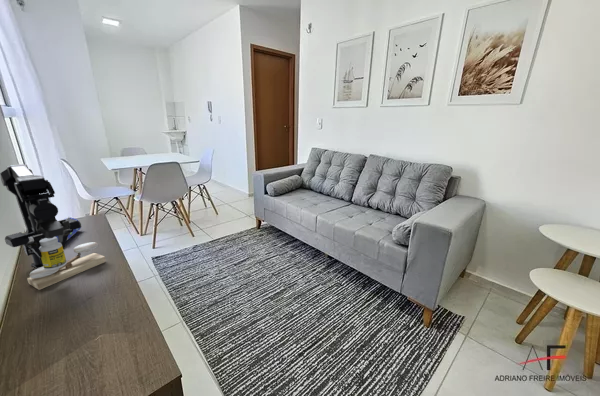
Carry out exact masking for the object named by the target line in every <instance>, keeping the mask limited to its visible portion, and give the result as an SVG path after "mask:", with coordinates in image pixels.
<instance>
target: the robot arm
mask: <svg viewBox="0 0 600 396" xmlns="http://www.w3.org/2000/svg"><path fill="white" fill-rule="evenodd" d="M33 172H34V171H33V170H32V169H30V168H29V167H28V165H27V164H23V163H21V164H20V163H19V164H10V165H7V166H6V169H5V170H3V171H2V172H0V180H1V183H2V186H3V187H6V190H7V191H8V192H10V193H11V194H12V195H14V196H15V199H16V201H17V205H18V208H19V211H20V214H21V217H22V220H23V223H24V225H25V228H26V231H25V233H23V232H22V231H21V232H16V233H12V234H9V235H6V236H5V238H4V241H5V244H6V245H8V246H9V247H12V248H18V247H20V246H23V247H22V248H23V250H24V253H25V254H26V256H27V257H28V256H31V257H32V261H33V262H32V263H31V264H30V265H31V266H32V267H34V268H35V269H38V268H40V267H43V263H42V259H41V257H42V256H41V252H40V250H39V248H40V246H41V245H40V242H39V241H40V240H42V239H44V238H48V239H50V238H53V237H56V236H58V239H59V242H60V243H61V244H62V246H63V250H65V249H66V245H67V241H68V240H67V237H68V235H69V234H70V233H71V232H73V230H75V229H78V228H80V229H82V223H81V222H80V220H78V219H77V220H78V221H77V220H74V219H75V218H74V219H68V220H67V219H66V218H64V219H61V220H57V218H56V217H57V215H58V213H59V208H58V206H56V205H55V204H54V203H53V202H51V201H50V198H54V197H55V194H56V192H55V190H54V188H53V186H52V183H51V182H50V181H49V180H48V179H45V178H44V176H41V175H35V174H34V173H33ZM66 240H67V241H66Z"/></svg>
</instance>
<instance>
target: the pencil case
mask: <svg viewBox="0 0 600 396" xmlns="http://www.w3.org/2000/svg"><path fill="white" fill-rule="evenodd" d="M65 219H67V220H68V219H74V220H77V221H79V220H78V219H76V218H74V217H70V216H68V217H65ZM80 230H81V228H78V229H75V230H73V232H71V233H70V234H69V235H68V237H67V240H66V242H67V241H68V240H69V239H71V237H73V236H74V235H75V234H77V232H79V231H80ZM56 237H57V238H58V236H56ZM58 242H59V239H58Z"/></svg>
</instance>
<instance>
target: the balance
mask: <svg viewBox="0 0 600 396" xmlns="http://www.w3.org/2000/svg"><path fill="white" fill-rule="evenodd" d="M98 247H99V243H98V242H94V241H93V242H92V241H91V242H84V243H81V244H79V245H76V246H74V248H72V249H73V252H74V253H76V254H77V255H75V256H74V257H72V258H70V259H69V260H66V262H67V263H66V265H65V266H63V267H61V268H58V269H55V270H45V269H44V266H43V267H40V268H35V269H34V270H32V271H31V272H30V273H29V277H27V282H28V284H29V285H30V286H31V287H33V288H35V289H37V290H39V291H40V290H43V289H44V288H47V287H49V286H52V285H54V284H56V283H59V282H60V281H64V280H66V279H68V278H71V277H73V276H75V275H78V274H80V273H82V272H85V271H88V270H89V269H92V268H94V267H97V266H99V265H102V264H104V263H106V262H107V260H106V256H104V255H101V254H100V253H96V252H93V253H90V254H87V255H84V256H82V257H81V255H82V254H81V253H86V252H87V253H88V252H91V251H93V250H95V249H97V248H98Z"/></svg>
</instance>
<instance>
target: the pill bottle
mask: <svg viewBox="0 0 600 396" xmlns="http://www.w3.org/2000/svg"><path fill="white" fill-rule="evenodd" d="M39 242H40V245H41V246H40V248H39V250H40V252H41V256H42V257H41V259H42V263H43V266H44V269H45V270H55V269H58V268H61V267H63V266H65V265H66V263H67V258H66V254H65V249H63V246H62V244H61V243H60V242H58V238H57V237H53V238H50V239H48V238H44V239H42V240H40V241H39Z"/></svg>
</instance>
